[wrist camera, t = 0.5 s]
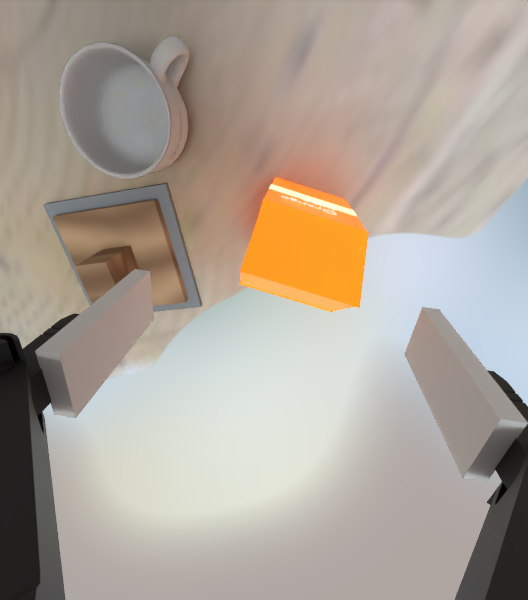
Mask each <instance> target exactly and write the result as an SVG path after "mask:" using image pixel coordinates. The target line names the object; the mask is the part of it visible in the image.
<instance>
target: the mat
mask: <svg viewBox="0 0 528 600" xmlns="http://www.w3.org/2000/svg"><path fill="white" fill-rule="evenodd" d="M152 199H158V200H159V204H160V207H161V210H162V214H163V217H164V220H165V223H166V227H167V230H168V233H169V237H170V240H171V243H172V246H173V250H174V253H175V256H176V260H177V263H178V266H179V269H180V273H181V276H182V279H183V283H184V286H185V289H186V292H187V296H188V300H187V301H186V303H176V304H167V305H157V306H153V311H163V310H173V309H183V308H193V307H201V306H202V303H201V299H200V296H199V292H198V289H197V285H196V282H195V278H194V275H193V271H192V268H191V264H190V261H189V257H188V254H187V250H186V247H185V243H184V240H183V236H182V233H181V229H180V226H179V222H178V219H177V215H176V212H175V208H174V205H173V201H172V198H171V194H170V191H169V187H168V184H167V183H166V184H160V185H154V186H148V187H142V188H136V189H130V190H124V191H118V192H113V193H107V194H101V195H95V196H89V197H83V198H77V199H71V200H65V201H59V202H53V203H48V204H44V208H45V210H46V212H47V214H48V216H49V218H50V220H51V223H52V225H53V227H54V229H55V231H56V233H57V235H58V238H59V240H60V242H61V244H62V246H63V248H64V250H65V253H66V255H67V257H68V259H69V261H70V263H71V265H72V268H73V270H74V272H75V274H76V276H77V278H78V280H79V283H80V285H81V287H82V289H83V291H84V293H85V295H86V298H87V300H88V302H89V304H90V305H92V302H91V300H90V297H88V295H87V292H86V290H85V288H84V286H83V284H82V282H81V279H80V277H79V275H78V273H77V271H76V269H75V267H74V266H75V265H74V263H73V261H72V258H71V256H70V254H69V252H68V250H67V248H66V245H65V243H64V241H63V239H62V237H61V235H60V232H59V230H58V228H57V226H56V224H55V222H54V219H53V216H56V215H59V214H65V213H71V212H78V211H84V210H90V209H96V208H102V207H109V206H115V205H121V204H127V203H133V202H139V201H146V200H152Z"/></svg>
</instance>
